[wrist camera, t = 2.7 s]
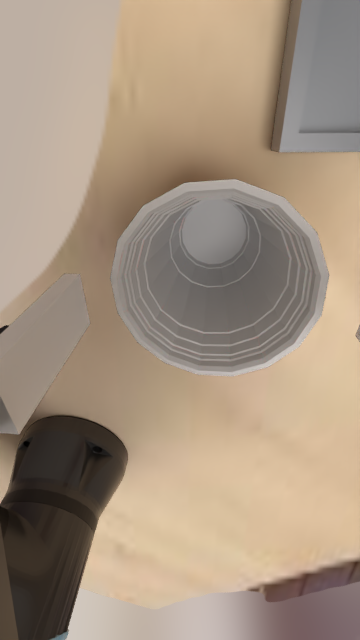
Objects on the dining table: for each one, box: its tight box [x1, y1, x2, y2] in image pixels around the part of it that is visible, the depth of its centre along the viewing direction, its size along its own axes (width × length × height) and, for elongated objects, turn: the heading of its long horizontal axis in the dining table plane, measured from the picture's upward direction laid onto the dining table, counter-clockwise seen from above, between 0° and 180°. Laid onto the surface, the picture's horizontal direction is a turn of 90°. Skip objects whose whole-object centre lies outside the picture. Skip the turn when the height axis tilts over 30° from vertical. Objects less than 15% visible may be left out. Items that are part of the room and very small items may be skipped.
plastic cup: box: [110, 179, 329, 376], centre depth 20 cm, size 11×11×12 cm
